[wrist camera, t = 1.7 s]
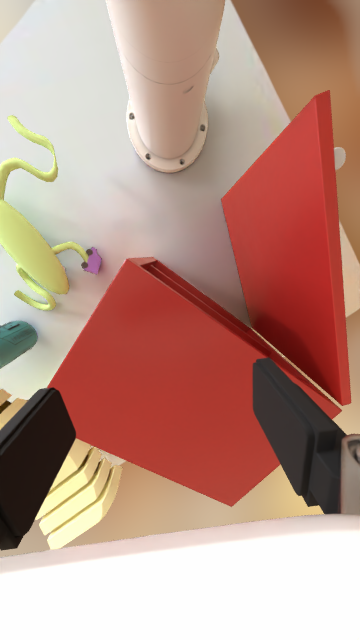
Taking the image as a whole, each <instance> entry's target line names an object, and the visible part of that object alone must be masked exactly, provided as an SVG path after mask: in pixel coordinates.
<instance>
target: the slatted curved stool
mask: <svg viewBox="0 0 360 640" xmlns="http://www.w3.org/2000/svg"><path fill="white" fill-rule="evenodd" d="M11 396H12V395H11V394H9V393H7V392H6V391H5V390H3V389H1V390H0V430H1V428H2V427H3V426H4V425H5V424H6V423H7V422H8V421H9V420H10V419H11V418H12V417H13V416H14V415H15V414H16V413H17V412H18V411H19V410H20V409H21V408H22V407H23V406H24V404H25V403H26V402H27V401H28V400H24V399H20V398H17V399H16V400H15V401H14V402H13V403H10V402H9V401H7V399H9V398H10V397H11ZM90 447H91V445H90V444H88V443H85V442H83V441H81V440H79V439H75V441H74V443H73V445H72V447H71V449H70V451H69V453H68V455H67V457H66V459H65V461H64V463H63V465H62V467H61V469H60V471H59V473H58V475H57V477H56V479H55V481H54V483H53V485H52V487H51V488H50V490H51V489H52V488H53V487H54V488H53V489H52V490H51V491H50V492H48V494H47V496H46V498H45V500H44V502H43V504H42V506H41V508H40V510H39V512H38V514H37V516H36V518H35V519H36V520H38V519H39V518H40V517H42V516H43V515H44V514H46V513H47V512H48V511H50V510H51V509H52V510H51V511H50V512H48V513H47V514H46V515H44V516H43V518H42V520H41V522H40V528H41V529H42V531H43V533H44V535H46V534H48V533H49V532H50V531H51V534H50V536H49V539H48V544H49V546H50V548H51V550H53V549H59V548H61V547H62V546H64V545H65V544H67V543H68V542H70V541H71V540H73V539H74V538H76V537H77V536H78V535H80V534H82V533H83V532H85V531H86V530H87V529H89V528H91V527H92V526H93V525H95V524H97V523H98V522H99V521H100V520H101V519H102V518H103V517H104V516H105V515H106V513H107V511H108V510H109V509H110V507H111V505H112V503H113V501H114V499H115V496H116V494H117V490H118V486H119V482H120V477H121V472H122V468H123V467H120V466H117V465H114V466H113V467H112V468H111V464H112V463H111V462H109V461H108V460H107V459H105V458H104V459H103V460H101V461H100V462H99V460H100V457H101V454H100V452H99V451H98V449H97V447H93V448H91V449H90ZM89 449H90V450H89ZM57 484H58V485H57ZM59 503H60V504H59ZM55 506H56V507H55ZM54 507H55V508H54Z"/></svg>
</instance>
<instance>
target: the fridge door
mask: <svg viewBox="0 0 360 640" xmlns="http://www.w3.org/2000/svg"><path fill="white" fill-rule="evenodd" d="M331 115H332V114H331V100H330V90H328V91H325V92H323V93H320V94H318V95H315V96H314V97H313V98H312V99H311V101H310V102H309V103H308V104H307V105H306V106H305V107H304V108H303V110H302V111H301V112H300V113H299V114H298V115H297V116H296V117H295V118H294V119H293V120H292V122H291V123H290V124H289V125H288V126H287V127H286V128H285V129H284V130H283V131H282V133H281V134H280V135H279V136H278V137H277V138H276V139H275V140H274V141H273V143H272V144H271V145H270V146H269V147H268V148H267V149H266V150H265V151H264V152H263V154H262V155H261V156H260V157H259V158H258V159H257V160H256V161H255V162H254V164H253V165H252V166H251V167H250V168H249V169H248V170H247V171H246V172H245V173H244V175H243V176H242V177H241V178H240V179H239V180H238V181H237V182H236V183H235V185H234V186H233V187H232V188H231V189H230V190H229V191H228V192H227V193H226V194H225V196H224V197H223V198H222V199H221V202H222V206H223V210H224V214H225V218H226V222H227V227H228V231H229V235H230V239H231V243H232V247H233V252H234V256H235V260H236V264H237V268H238V272H239V276H240V281H241V285H242V289H243V293H244V297H245V301H246V306H247V310H248V314H249V318H250V322H251V326H252V328H253V329H254V330H255V331H257V332H258V333H259V334H260V335H261V336H262V337H264V338H265V339H266V340H267V341H268V342H269V343H270V344H272V345H273V346H274V347H275V348H276V349H277V350H279V351H280V352H281V353H282V354H283V355H284V356H285V357H287V358H288V359H289V360H290V361H291V362H292V363H294V364H295V365H296V366H297V367H298V368H300V369H301V370H302V371H303V372H304V373H305V374H306V375H307V376H308V377H310V378H311V379H312V380H313V381H314V382H315V383H317V384H318V385H319V386H320V387H321V388H322V389H323V390H325V391H326V392H327V393H328V394H329V395H330V396H331V397H333V398H334V399H335V400H336V401H337V402H338V403H340V404H341V405H342V406H343V405H347V404H350V403H351V391H350V378H349V362H348V348H347V333H346V320H345V319H346V318H345V304H344V289H343V275H342V260H341V245H340V231H339V216H338V203H337V187H336V173H335V170H337V169H339V168H340V167H341V166H342V165H343V164H344V162H345V159H346V153H345V151H344V149H342V148H340V147H337V148H334V144H333V129H332V116H331Z"/></svg>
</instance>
